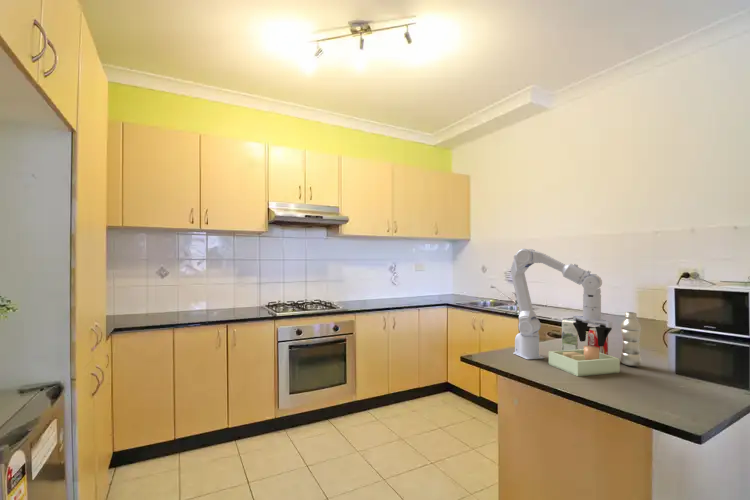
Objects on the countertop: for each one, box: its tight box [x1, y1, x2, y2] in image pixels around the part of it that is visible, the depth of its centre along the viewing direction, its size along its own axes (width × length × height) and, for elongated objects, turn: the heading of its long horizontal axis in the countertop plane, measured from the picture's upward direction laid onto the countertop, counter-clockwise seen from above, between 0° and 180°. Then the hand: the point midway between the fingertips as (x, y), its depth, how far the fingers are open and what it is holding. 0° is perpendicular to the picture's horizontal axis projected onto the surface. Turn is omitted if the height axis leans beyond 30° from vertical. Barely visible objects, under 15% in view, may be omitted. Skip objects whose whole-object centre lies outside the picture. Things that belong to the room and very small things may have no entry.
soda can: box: [587, 327, 609, 355], centre depth 147 cm, size 7×7×12 cm
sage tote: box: [548, 348, 621, 377], centre depth 134 cm, size 14×18×5 cm
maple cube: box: [563, 352, 585, 361], centre depth 133 cm, size 5×5×5 cm
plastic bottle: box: [619, 311, 642, 367], centre depth 139 cm, size 6×7×20 cm
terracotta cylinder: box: [583, 345, 599, 360], centre depth 135 cm, size 5×5×7 cm
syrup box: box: [561, 319, 579, 351], centre depth 152 cm, size 6×6×14 cm
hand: (591, 343), depth 135 cm, fingers open, 7 cm apart
